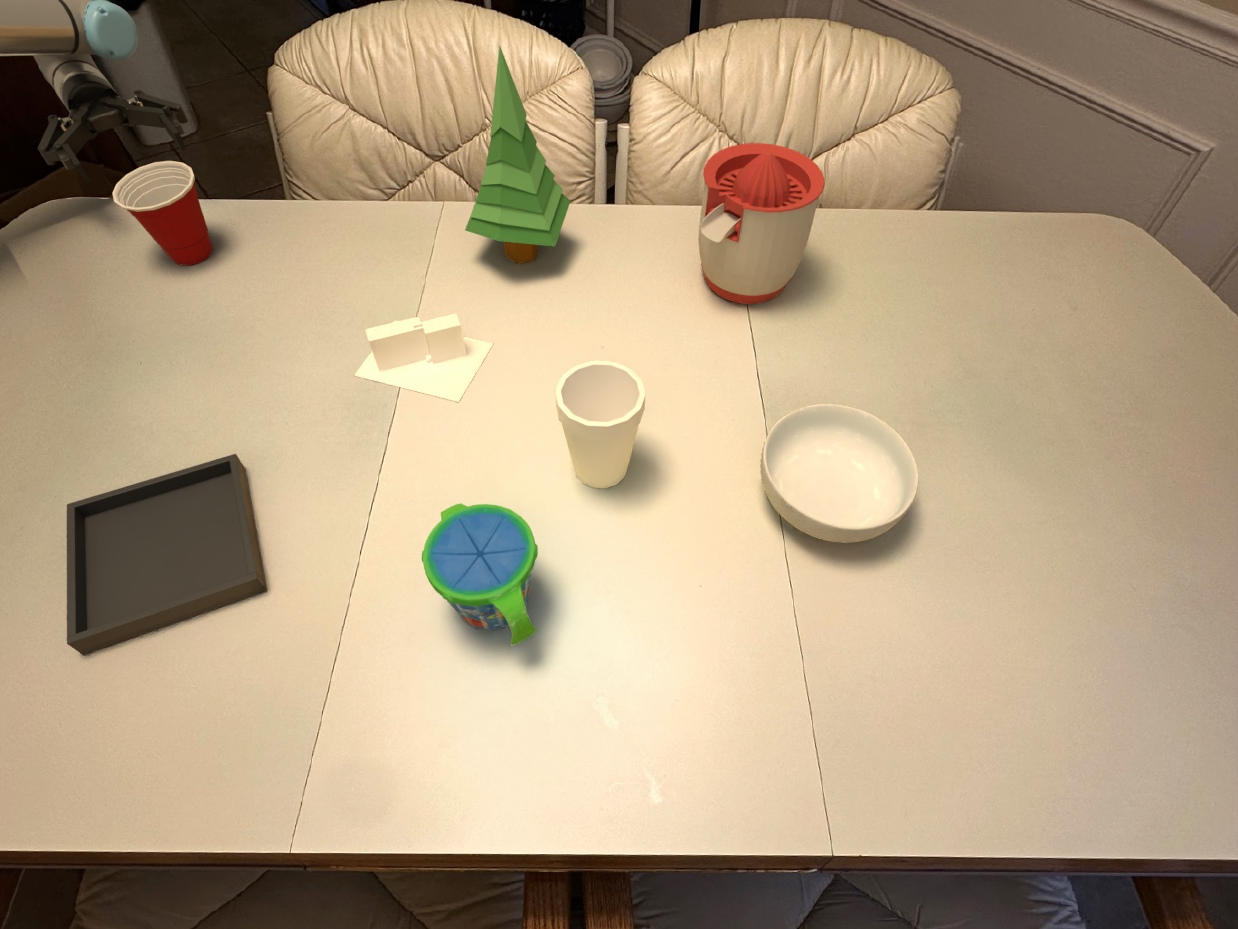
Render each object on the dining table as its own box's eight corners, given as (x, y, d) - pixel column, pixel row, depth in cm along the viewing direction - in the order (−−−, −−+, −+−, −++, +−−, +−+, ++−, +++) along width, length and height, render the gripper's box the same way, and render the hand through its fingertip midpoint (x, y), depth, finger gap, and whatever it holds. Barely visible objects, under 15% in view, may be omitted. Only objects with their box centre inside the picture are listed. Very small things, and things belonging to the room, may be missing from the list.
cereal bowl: (728, 463, 89) (736, 425, 83) (848, 426, 93) (864, 387, 87) (798, 581, 79) (813, 547, 74) (928, 535, 83) (952, 499, 77)
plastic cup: (141, 250, 111) (97, 178, 102) (212, 223, 116) (176, 151, 106) (167, 287, 106) (124, 214, 97) (240, 257, 111) (206, 185, 101)
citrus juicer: (660, 281, 109) (670, 154, 93) (740, 234, 116) (762, 108, 100) (740, 337, 102) (765, 209, 86) (819, 283, 109) (856, 156, 93)
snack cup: (420, 560, 80) (399, 508, 72) (510, 523, 83) (500, 469, 75) (470, 686, 72) (453, 643, 64) (569, 640, 75) (565, 593, 67)
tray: (80, 517, 83) (66, 503, 81) (245, 467, 87) (235, 453, 85) (82, 655, 73) (66, 643, 71) (267, 591, 78) (257, 578, 75)
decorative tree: (582, 273, 110) (576, 64, 86) (477, 290, 107) (440, 79, 83) (562, 220, 118) (552, 14, 94) (463, 234, 115) (426, 27, 91)
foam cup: (556, 441, 90) (550, 365, 80) (631, 431, 92) (634, 355, 81) (567, 505, 85) (562, 432, 74) (647, 493, 86) (652, 420, 76)
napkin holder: (353, 376, 96) (340, 344, 92) (393, 320, 103) (383, 287, 98) (459, 402, 94) (452, 370, 89) (494, 342, 101) (488, 310, 96)
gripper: (180, 97, 124) (228, 152, 115) (18, 146, 115) (55, 211, 105) (159, 50, 118) (207, 104, 109) (-14, 98, 109) (22, 162, 99)
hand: (133, 157), depth 107 cm, fingers open, 13 cm apart
